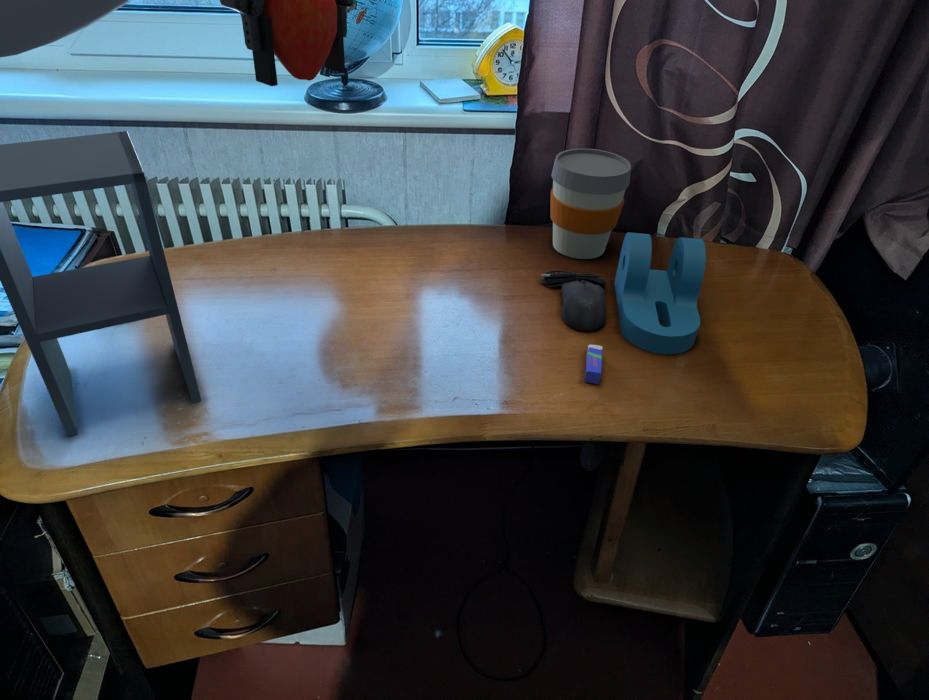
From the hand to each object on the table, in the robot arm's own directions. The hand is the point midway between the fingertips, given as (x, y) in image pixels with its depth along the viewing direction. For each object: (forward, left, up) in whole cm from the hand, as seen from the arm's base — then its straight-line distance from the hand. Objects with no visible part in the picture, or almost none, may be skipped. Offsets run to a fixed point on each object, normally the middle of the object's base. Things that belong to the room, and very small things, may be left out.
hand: (302, 75), depth 72 cm
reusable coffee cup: (+45, -13, -33) cm, 57 cm away
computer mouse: (+29, -23, -33) cm, 50 cm away
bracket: (+34, -33, -33) cm, 58 cm away
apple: (0, 0, -1) cm, 1 cm away
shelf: (-25, +6, -33) cm, 42 cm away
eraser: (+17, -33, -33) cm, 50 cm away
